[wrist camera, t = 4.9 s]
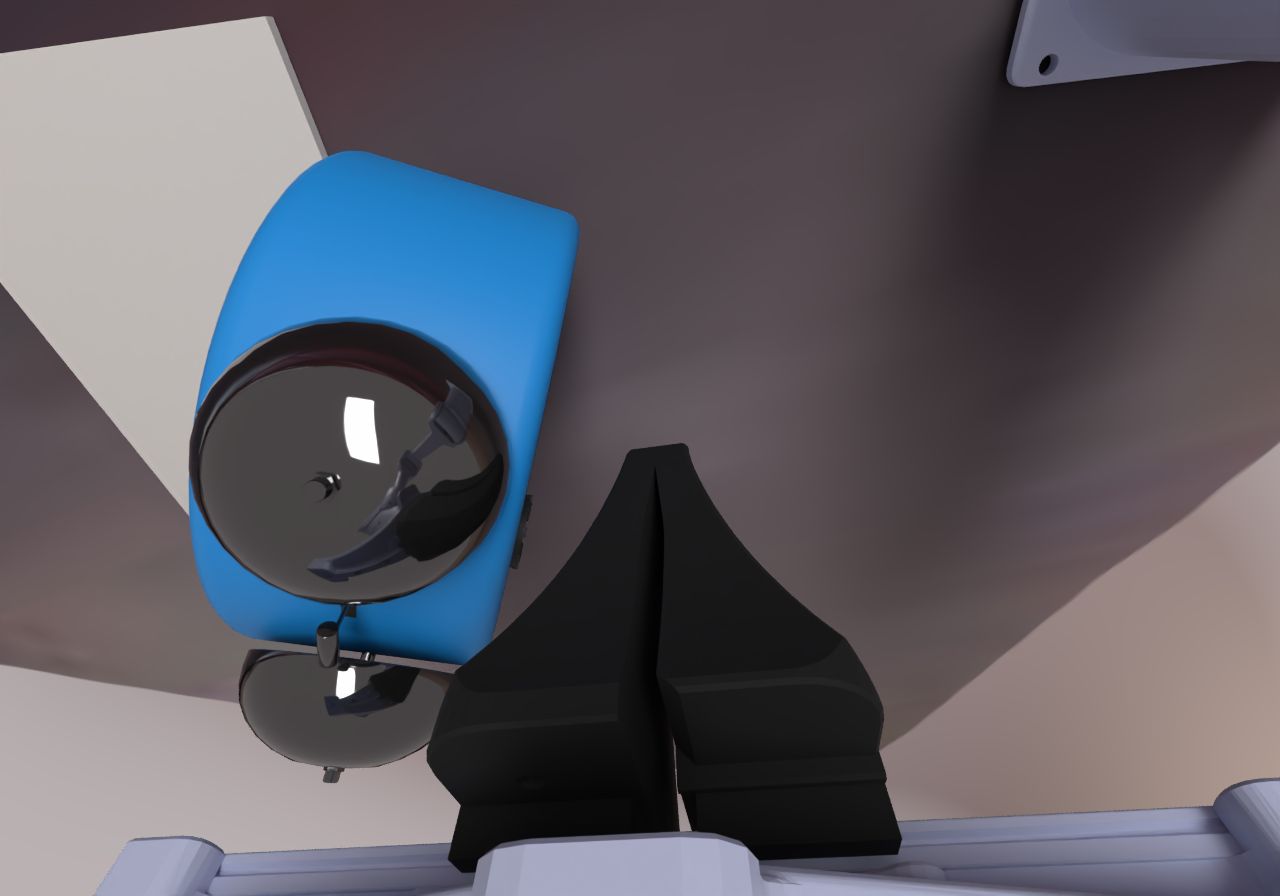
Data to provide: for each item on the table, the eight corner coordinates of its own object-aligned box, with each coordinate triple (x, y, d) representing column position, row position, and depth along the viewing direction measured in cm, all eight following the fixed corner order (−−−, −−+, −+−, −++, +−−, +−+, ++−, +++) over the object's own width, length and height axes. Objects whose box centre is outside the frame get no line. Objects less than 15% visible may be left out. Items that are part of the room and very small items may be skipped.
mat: (272, 16, 16) (265, 16, 16) (468, 513, 28) (466, 518, 28) (-150, 76, 17) (-166, 77, 17) (210, 530, 29) (205, 536, 29)
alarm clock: (407, 114, 17) (-49, 276, 5) (597, 174, 19) (571, 416, 7) (391, 439, 25) (182, 819, 13) (529, 467, 26) (457, 837, 14)
